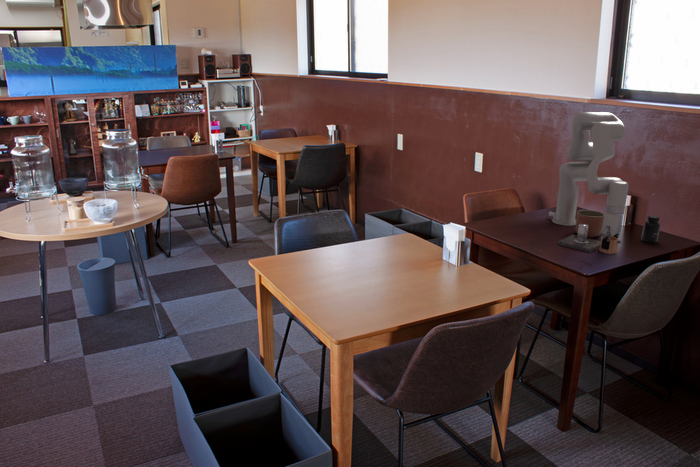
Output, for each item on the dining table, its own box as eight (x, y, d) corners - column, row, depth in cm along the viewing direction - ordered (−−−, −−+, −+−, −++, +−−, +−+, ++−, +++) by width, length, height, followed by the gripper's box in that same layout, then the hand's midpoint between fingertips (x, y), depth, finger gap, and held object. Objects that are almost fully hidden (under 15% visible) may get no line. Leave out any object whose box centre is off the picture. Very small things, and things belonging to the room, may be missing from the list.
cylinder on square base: (557, 244, 250) (560, 224, 247) (571, 237, 260) (574, 218, 257) (590, 252, 240) (593, 232, 237) (603, 245, 250) (607, 225, 247)
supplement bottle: (655, 244, 252) (660, 219, 248) (639, 241, 256) (644, 216, 252) (658, 240, 257) (663, 216, 253) (642, 237, 261) (646, 213, 257)
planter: (607, 237, 261) (611, 215, 258) (587, 240, 257) (590, 217, 253) (587, 230, 272) (591, 208, 269) (568, 232, 268) (571, 211, 264)
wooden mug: (596, 250, 242) (598, 238, 240) (603, 247, 247) (605, 234, 245) (615, 255, 237) (617, 242, 235) (621, 251, 241) (623, 238, 240)
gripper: (613, 204, 245) (607, 240, 250) (598, 211, 233) (592, 249, 238) (631, 207, 239) (624, 244, 245) (616, 214, 228) (610, 253, 233)
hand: (608, 246), depth 241 cm, fingers open, 9 cm apart
